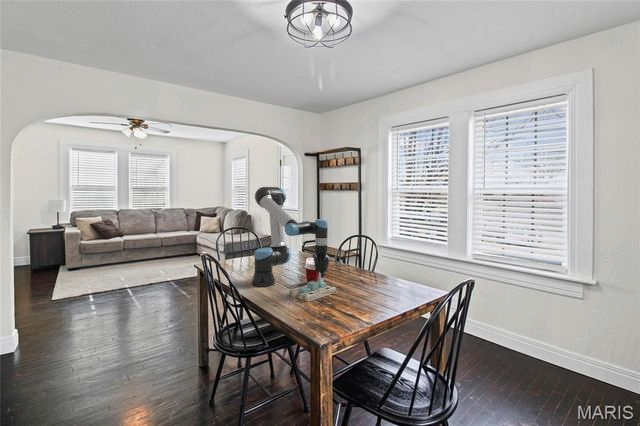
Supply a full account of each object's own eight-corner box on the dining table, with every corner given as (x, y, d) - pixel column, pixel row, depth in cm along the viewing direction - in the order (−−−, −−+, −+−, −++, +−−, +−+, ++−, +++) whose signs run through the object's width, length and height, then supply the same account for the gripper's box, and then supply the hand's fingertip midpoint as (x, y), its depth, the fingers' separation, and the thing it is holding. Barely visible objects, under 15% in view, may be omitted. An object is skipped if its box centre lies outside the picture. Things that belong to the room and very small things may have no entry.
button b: (307, 288, 192) (307, 282, 192) (312, 287, 196) (312, 280, 195) (313, 290, 189) (313, 284, 189) (318, 288, 192) (318, 282, 192)
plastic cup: (314, 287, 206) (314, 268, 205) (300, 284, 212) (301, 266, 212) (323, 283, 215) (323, 265, 214) (310, 280, 221) (310, 263, 220)
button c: (315, 289, 197) (315, 282, 197) (320, 287, 201) (320, 281, 201) (321, 290, 194) (321, 284, 194) (326, 289, 198) (326, 282, 197)
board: (289, 295, 189) (289, 290, 189) (316, 286, 207) (316, 282, 206) (308, 301, 178) (308, 296, 178) (335, 292, 196) (335, 287, 196)
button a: (298, 294, 187) (298, 288, 187) (304, 293, 191) (304, 286, 190) (304, 296, 184) (304, 289, 184) (310, 294, 187) (310, 288, 187)
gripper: (309, 244, 197) (309, 281, 199) (325, 246, 189) (324, 285, 190) (317, 242, 203) (317, 279, 204) (333, 245, 194) (333, 283, 195)
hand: (321, 282), depth 197 cm, fingers closed
